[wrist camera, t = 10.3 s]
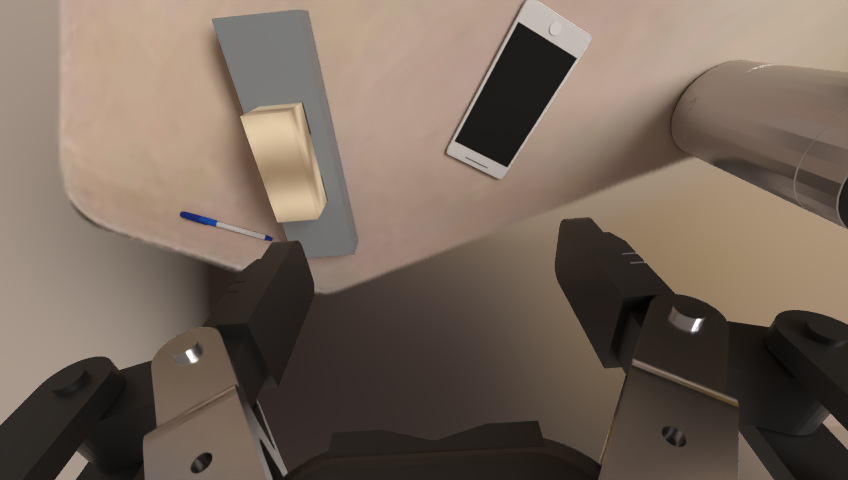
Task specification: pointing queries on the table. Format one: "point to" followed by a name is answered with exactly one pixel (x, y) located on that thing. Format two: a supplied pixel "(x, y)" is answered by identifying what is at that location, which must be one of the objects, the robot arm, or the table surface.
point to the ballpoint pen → (223, 225)
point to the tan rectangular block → (286, 160)
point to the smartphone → (518, 88)
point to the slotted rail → (285, 84)
